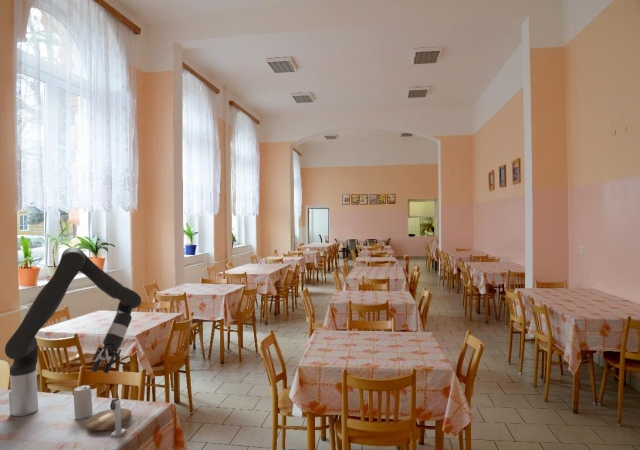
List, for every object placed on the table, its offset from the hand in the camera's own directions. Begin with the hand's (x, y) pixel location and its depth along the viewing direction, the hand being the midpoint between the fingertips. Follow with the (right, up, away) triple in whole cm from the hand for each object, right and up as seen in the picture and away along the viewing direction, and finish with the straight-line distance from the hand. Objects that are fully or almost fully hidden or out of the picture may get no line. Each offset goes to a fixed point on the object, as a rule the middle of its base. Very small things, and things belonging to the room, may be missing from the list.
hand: (99, 372), depth 185 cm
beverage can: (-3, -16, -7) cm, 18 cm away
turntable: (+11, -14, -15) cm, 23 cm away
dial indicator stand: (+19, -15, -23) cm, 34 cm away
